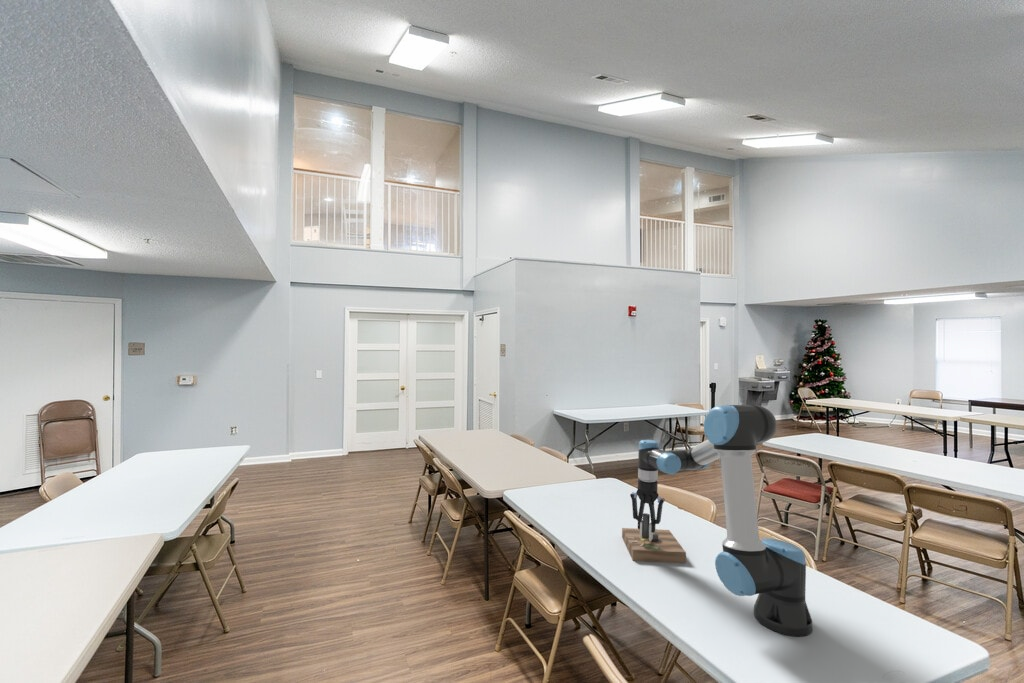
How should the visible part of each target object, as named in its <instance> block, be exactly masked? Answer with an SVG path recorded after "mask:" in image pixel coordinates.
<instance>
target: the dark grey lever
mask: <svg viewBox="0 0 1024 683" xmlns="http://www.w3.org/2000/svg"><path fill="white" fill-rule="evenodd" d="M642 518H643V519H642V520H643V538H642V539H641V542H642V543H644V542H646V541H647V540H649V524H650V523H651V517H650V513H646V512H645V513H644V512H643V517H642ZM658 536H659V535H658V533H656V532H654V533H653V539H652V540H651V541H658Z"/></svg>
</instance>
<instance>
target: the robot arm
mask: <svg viewBox="0 0 1024 683" xmlns="http://www.w3.org/2000/svg"><path fill="white" fill-rule="evenodd" d="M777 430H778V422H777V419H776V417H775V415H774V413H773V412H771V411H770V410H769V409H768V408H766V407H764V406H762V405H758V404H726V405H725V404H724V405H717V406H714V407H713V408H712V407H711V409H710V410H709V411H708V412H707V414H706V415H705V418H704V420H703V432H704V436H705V437H707V438H706V440H704V441H702V442H700V443H698V444H697V445H695V446H693V447H691V448H688V449H680V450H679V449H677V450H664V449H660V446H659V442H658V441H656V440H654V439H641V440H640V441H639V443H638V459H637V461H638V464H637V465H638V467H637V478H638V480H637V490H636V491H635V492H633V491H632V492H631V493H630V495H629V497H630V498H631V503H632V504H631V506H632V517H633V519H634V520H636V521H637V529H640V539H642V538H643V514H644V510H645V505H646V504H648V507H649V514H650V524H649V541H651V540H652V539H653V533H654V532H655V529H656V525H659V524H660V523H661V520H662V519H661V518H662V514H663V513H662V512H663V505H664V502H665V501H666V499H665V498H664V497H661V496H660V495H659V493H658V484H659V483H658V482H659V481H658V478H659V477H658V476H659V471H660V472H662V473H664V474H669V475H675V474H677V473H678V472H679V471H680V472H681V471H692V470H694V471H695V470H697V471H698V470H703V469H706V468H708V467H709V465H710V463H712V462H715V461H717V460H719V459H720V460H719V461H720V470H721V481H722V482H721V483H722V492H723V502H724V504H723V505H724V515H725V516H724V517H725V525H726V526H725V527H726V538H724V539H723V540H722V543H721V546H722V552H719V553H718V554H717V556H716V557H715V561H714V562H715V563H714V565H715V570H716V573H717V576H718V578H719V580H720V581H721V583H722V585H723V586H724V587H725V588H726V590H728V591H729V592H730V593H732V594H733V595H735V596H738V597H745V596H748V597H752V596H754V595H757V594H758V595H757V598H756V600H755V601H754V602H755V603H754V605H753V616H754V618H755V619H756V621H757V622H759V623H760V624H761V625H763V626H764V627H766V628H768V629H769V630H772V631H773V632H777V633H779V634H782V635H787V636H791V637H805V636H808V635H811V633H812V632H813V620H812V616H811V613H810V611H809V607H808V605H807V600H806V590H807V589H806V586H807V585H806V579H807V575H806V574H807V572H806V570H807V562H806V553H805V552H804V550H803V549H802V548H800V547H799V546H797V545H795V544H792V543H791V542H787V541H784V540H781V539H776V538H770V537H768V538H767V537H765V538H762V539H760V533H759V532H760V531H759V523H758V522H759V521H758V520H759V519H758V511H757V510H758V509H757V501H756V499H757V498H756V491H755V481H754V471H753V462H752V460H753V458H752V455H753V454H754V453H755V452H756V451H757V446H758V445H761V444H762V443H766V442H768V441H769V440H771V439H772V438H774V436H775V434H776V433H777ZM637 498H638V499H639V500H640V502H639V510H638V499H637ZM656 500H657V503H658V504H657V508H656V509H657V511H656V510H655V501H656Z"/></svg>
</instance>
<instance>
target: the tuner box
mask: <svg viewBox="0 0 1024 683" xmlns="http://www.w3.org/2000/svg"><path fill="white" fill-rule="evenodd" d="M655 532H656V533H658V535H659V536H658V541H649V540H647V541H646V542H644V543H642V542H641V539H640V529H638V528H633V527H630V528H629V527H622V528H621V538H622V540H623V542H624V545H625V548H626V549H627V551H628V553H629V555H630V558H631V559H632V561H635V562H636V561H637V562H655V563H656V562H658V563H659V562H660V563H681V564H683V563H684V564H686V562H687V561H686V560H687V558H686V554H687V552H686V551H685V549H684V548H683V546H682V545H681V543H680V542H679V541H678V540H677V539H676V537H675V536H674V534H673V533H672V532H671V531H670V530H669V529H658V528H657V529H656V528H655Z"/></svg>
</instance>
